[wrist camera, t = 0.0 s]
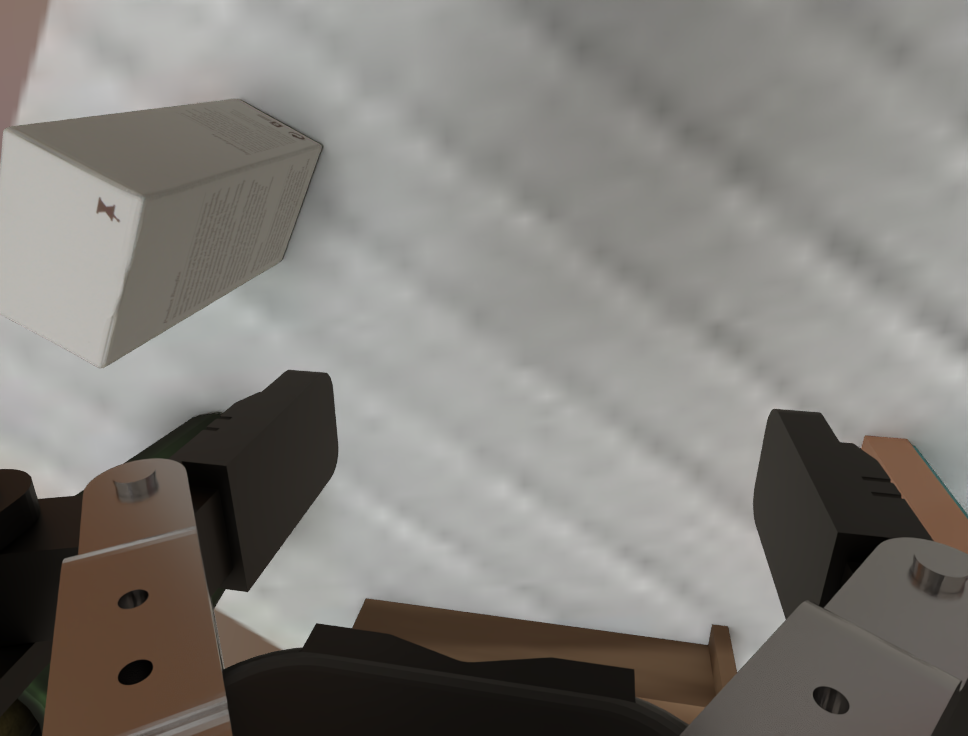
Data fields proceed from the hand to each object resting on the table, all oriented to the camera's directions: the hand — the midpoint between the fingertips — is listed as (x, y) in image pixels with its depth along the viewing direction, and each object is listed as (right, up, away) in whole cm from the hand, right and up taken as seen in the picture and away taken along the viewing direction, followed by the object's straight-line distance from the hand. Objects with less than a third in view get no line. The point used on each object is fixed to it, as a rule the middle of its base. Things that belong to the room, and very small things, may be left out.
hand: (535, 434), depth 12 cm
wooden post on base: (+2, -14, +26) cm, 29 cm away
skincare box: (-11, +9, +17) cm, 22 cm away
